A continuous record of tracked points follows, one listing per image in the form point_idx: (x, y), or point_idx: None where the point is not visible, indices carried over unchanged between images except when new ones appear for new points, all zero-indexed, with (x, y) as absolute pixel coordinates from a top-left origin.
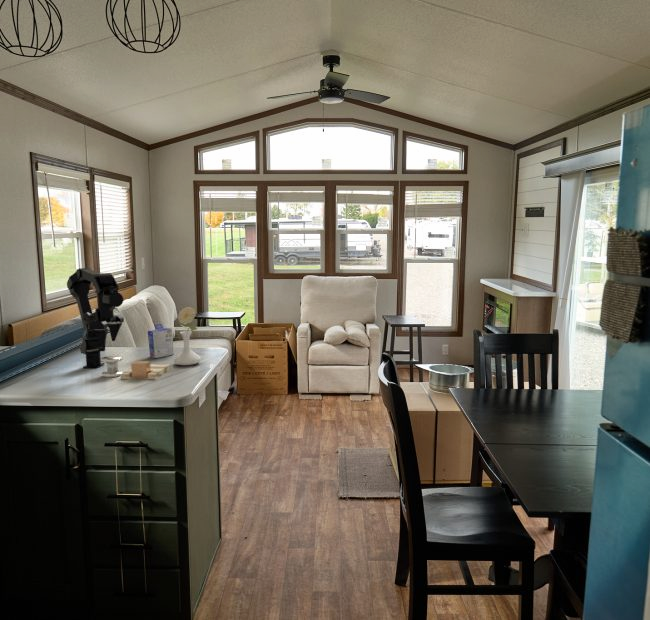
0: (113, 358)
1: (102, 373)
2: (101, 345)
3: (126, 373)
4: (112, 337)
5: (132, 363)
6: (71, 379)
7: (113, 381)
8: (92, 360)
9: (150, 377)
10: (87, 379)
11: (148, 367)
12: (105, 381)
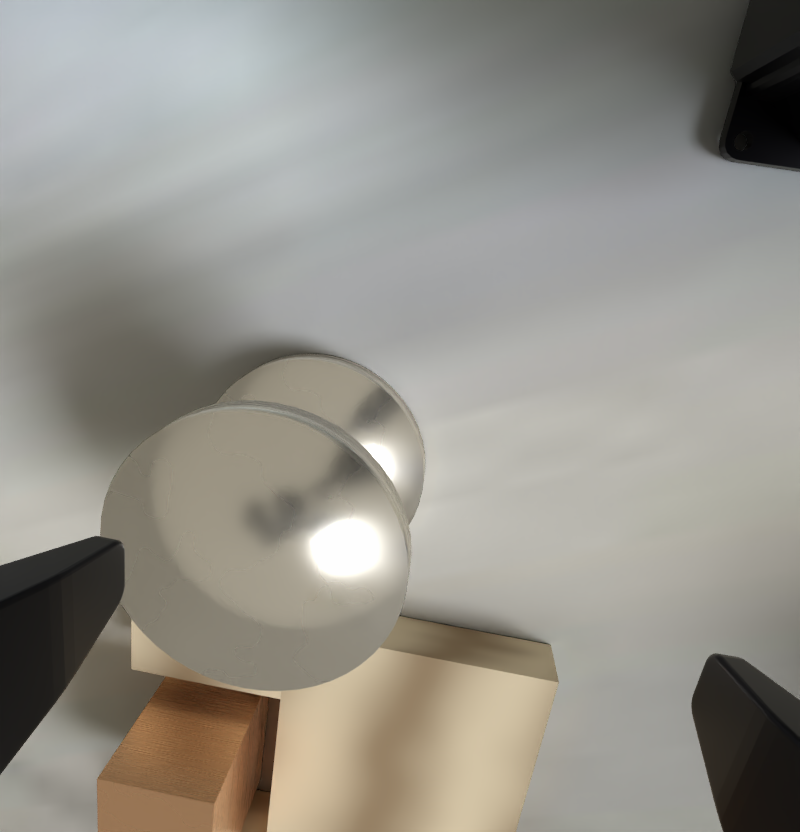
0: (203, 596)
1: (276, 366)
2: (91, 542)
3: (152, 647)
4: (752, 754)
5: (103, 790)
6: (143, 11)
7: (80, 524)
8: (785, 53)
9: None
10: (145, 232)
11: None
12: (76, 452)
